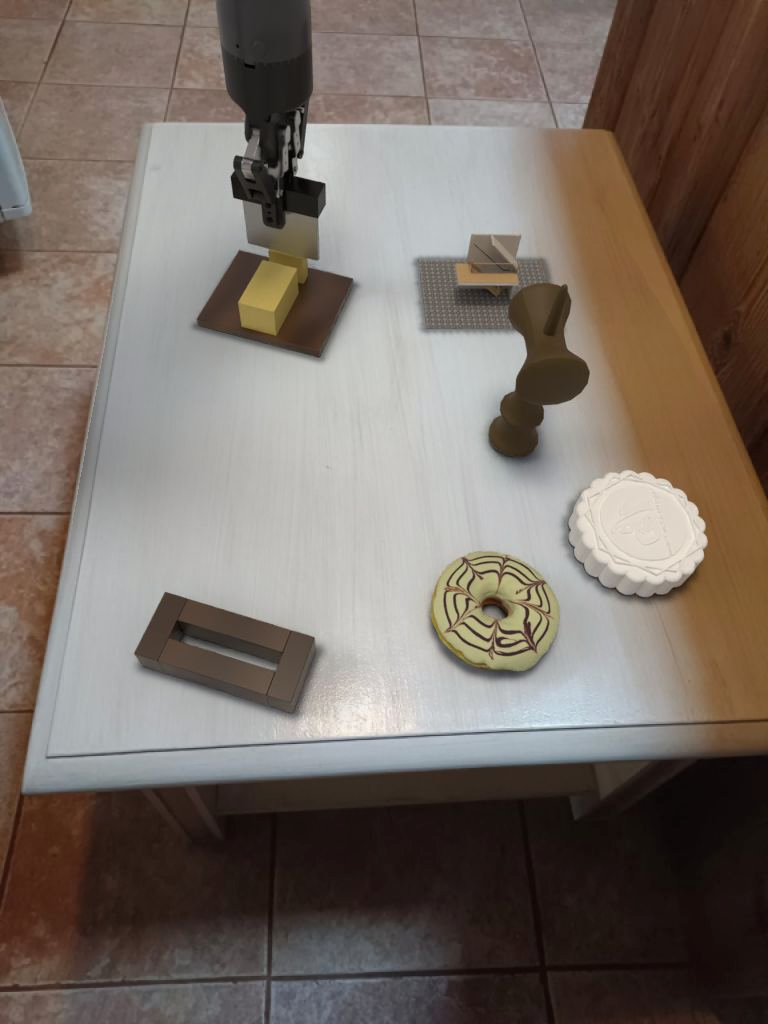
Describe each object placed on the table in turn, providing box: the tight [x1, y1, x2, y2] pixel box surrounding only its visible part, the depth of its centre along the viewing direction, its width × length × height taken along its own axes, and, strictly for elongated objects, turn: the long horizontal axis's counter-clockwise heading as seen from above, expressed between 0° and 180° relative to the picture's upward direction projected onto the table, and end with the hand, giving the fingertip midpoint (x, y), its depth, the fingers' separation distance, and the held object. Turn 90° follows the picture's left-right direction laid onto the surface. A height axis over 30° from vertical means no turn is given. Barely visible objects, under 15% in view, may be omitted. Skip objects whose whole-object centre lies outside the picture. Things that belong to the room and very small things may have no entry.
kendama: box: [488, 282, 591, 458], centre depth 65 cm, size 6×10×20 cm, turn 1°
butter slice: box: [267, 249, 309, 284], centre depth 81 cm, size 4×2×4 cm, turn 74°
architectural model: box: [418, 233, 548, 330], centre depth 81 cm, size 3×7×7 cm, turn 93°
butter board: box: [196, 249, 354, 358], centre depth 81 cm, size 14×12×1 cm
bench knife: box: [230, 169, 327, 262], centre depth 74 cm, size 9×2×8 cm, turn 73°
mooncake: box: [568, 469, 709, 598], centre depth 66 cm, size 12×12×4 cm
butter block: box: [238, 260, 299, 336], centre depth 78 cm, size 4×7×4 cm, turn 164°
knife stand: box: [133, 591, 317, 714], centre depth 59 cm, size 13×6×3 cm, turn 74°
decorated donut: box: [430, 550, 561, 672], centre depth 61 cm, size 10×11×4 cm
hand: (279, 216), depth 74 cm, fingers closed on bench knife, 2 cm apart
